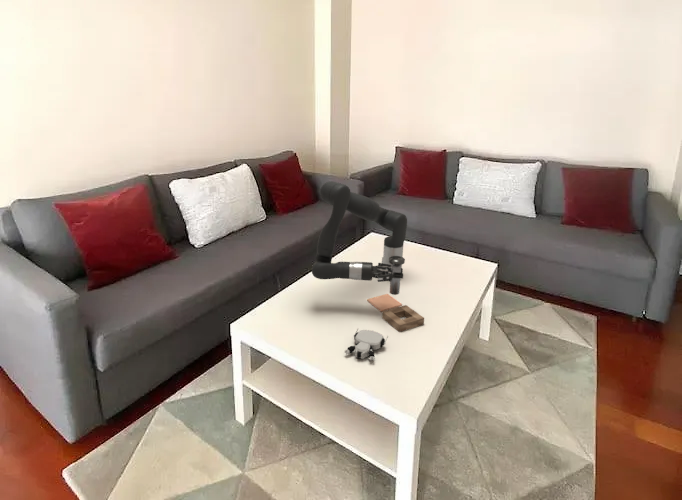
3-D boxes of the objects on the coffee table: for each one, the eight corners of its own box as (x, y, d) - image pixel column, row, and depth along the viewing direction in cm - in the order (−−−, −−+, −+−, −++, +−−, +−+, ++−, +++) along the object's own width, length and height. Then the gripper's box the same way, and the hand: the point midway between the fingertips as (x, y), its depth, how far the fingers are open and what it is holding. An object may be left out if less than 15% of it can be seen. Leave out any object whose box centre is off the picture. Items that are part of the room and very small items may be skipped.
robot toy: (374, 367, 160) (388, 343, 173) (374, 357, 158) (389, 333, 171) (342, 358, 165) (358, 335, 177) (342, 348, 163) (358, 325, 175)
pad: (366, 300, 203) (367, 299, 203) (387, 295, 208) (387, 293, 208) (381, 311, 194) (381, 310, 194) (402, 305, 200) (402, 304, 199)
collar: (382, 318, 190) (382, 311, 189) (405, 311, 195) (406, 305, 194) (399, 332, 180) (400, 325, 179) (423, 324, 186) (424, 317, 184)
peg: (383, 291, 193) (385, 257, 187) (396, 287, 196) (398, 254, 190) (392, 297, 188) (395, 263, 182) (405, 294, 191) (408, 260, 185)
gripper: (360, 269, 182) (404, 272, 180) (361, 255, 195) (402, 257, 194) (359, 287, 184) (402, 289, 183) (361, 272, 198) (401, 274, 196)
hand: (402, 273), depth 188 cm, fingers closed on peg, 4 cm apart
